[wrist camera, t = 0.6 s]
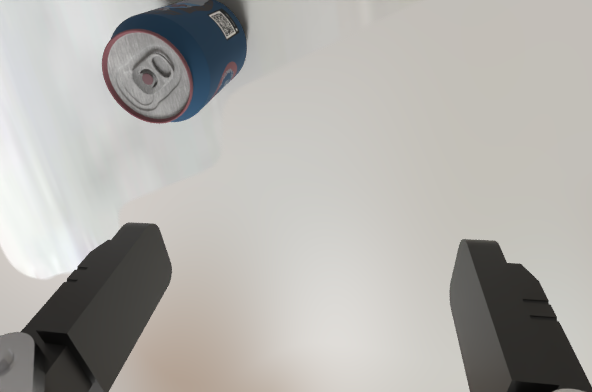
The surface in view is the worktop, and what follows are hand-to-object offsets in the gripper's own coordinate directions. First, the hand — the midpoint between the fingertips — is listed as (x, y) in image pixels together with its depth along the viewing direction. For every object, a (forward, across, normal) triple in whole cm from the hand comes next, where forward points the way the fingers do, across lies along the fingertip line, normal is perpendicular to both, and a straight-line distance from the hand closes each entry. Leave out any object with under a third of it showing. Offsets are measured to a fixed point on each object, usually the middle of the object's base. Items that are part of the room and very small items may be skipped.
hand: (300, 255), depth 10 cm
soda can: (+26, +12, 0) cm, 29 cm away
